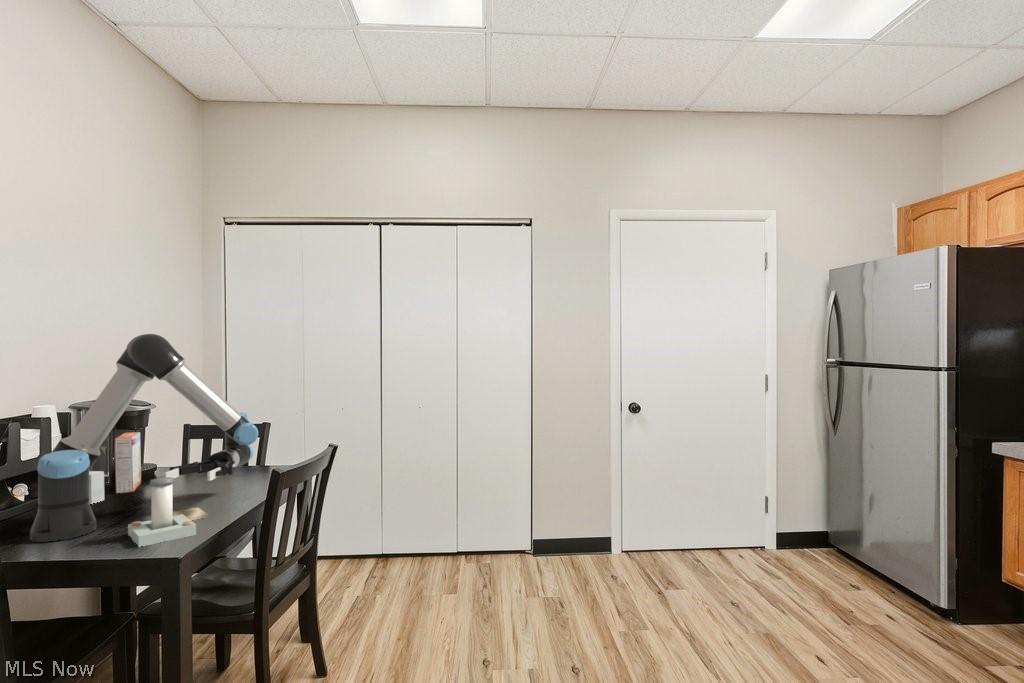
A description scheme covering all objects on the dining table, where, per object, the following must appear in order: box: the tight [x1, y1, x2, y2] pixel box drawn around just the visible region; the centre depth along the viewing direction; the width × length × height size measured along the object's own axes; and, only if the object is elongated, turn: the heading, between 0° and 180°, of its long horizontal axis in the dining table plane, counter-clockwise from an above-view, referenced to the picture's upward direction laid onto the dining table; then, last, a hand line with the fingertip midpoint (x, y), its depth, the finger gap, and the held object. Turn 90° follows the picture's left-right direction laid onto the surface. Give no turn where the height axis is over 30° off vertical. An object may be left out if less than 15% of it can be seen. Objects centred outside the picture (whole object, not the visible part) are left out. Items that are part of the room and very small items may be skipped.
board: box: [173, 507, 209, 521], centre depth 177 cm, size 11×11×1 cm
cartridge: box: [149, 476, 175, 530], centre depth 160 cm, size 6×6×16 cm
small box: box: [89, 470, 105, 505], centre depth 195 cm, size 8×6×10 cm
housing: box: [127, 514, 197, 548], centre depth 160 cm, size 14×14×4 cm
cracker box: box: [114, 431, 142, 494], centre depth 213 cm, size 14×6×21 cm, turn 23°
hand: (186, 477), depth 171 cm, fingers open, 13 cm apart
